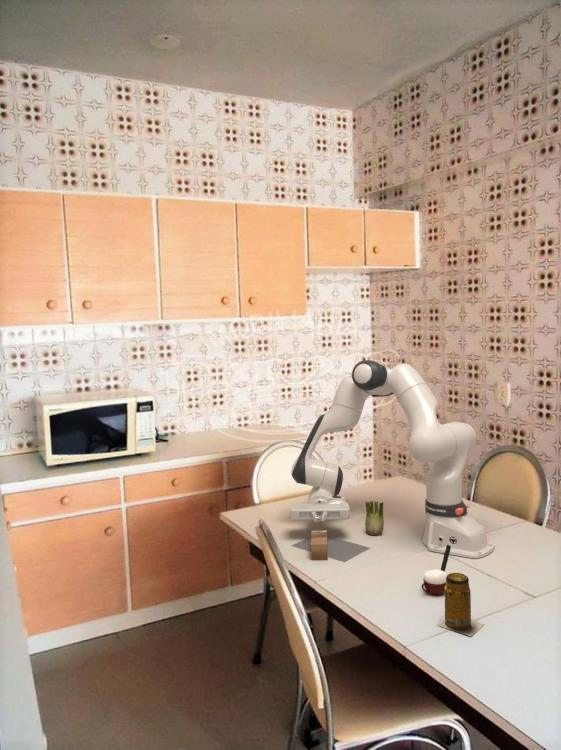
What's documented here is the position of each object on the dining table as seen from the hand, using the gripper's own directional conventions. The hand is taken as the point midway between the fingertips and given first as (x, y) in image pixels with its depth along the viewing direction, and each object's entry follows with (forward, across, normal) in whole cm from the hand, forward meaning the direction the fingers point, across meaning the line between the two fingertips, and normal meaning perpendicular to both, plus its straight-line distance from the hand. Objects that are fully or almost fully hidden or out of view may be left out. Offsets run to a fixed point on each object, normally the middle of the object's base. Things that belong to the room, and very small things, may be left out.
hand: (319, 519), depth 196 cm
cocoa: (+31, +32, +10) cm, 46 cm away
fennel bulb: (-11, +18, +10) cm, 24 cm away
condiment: (+49, +35, +10) cm, 61 cm away
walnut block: (-1, 0, +7) cm, 7 cm away
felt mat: (0, +3, +10) cm, 10 cm away
